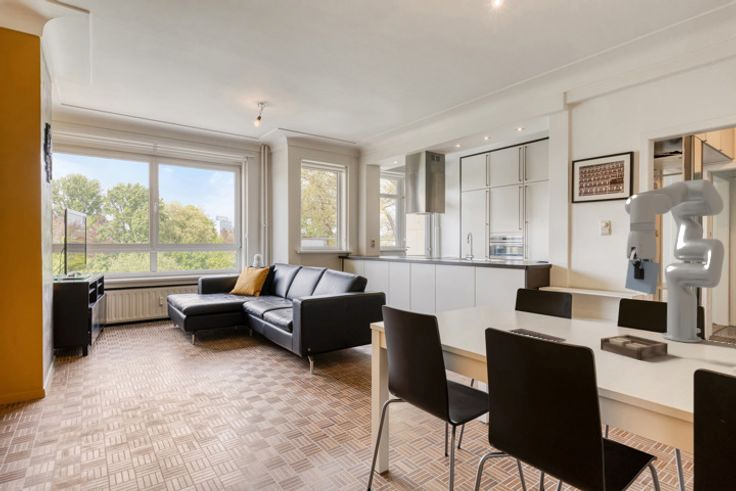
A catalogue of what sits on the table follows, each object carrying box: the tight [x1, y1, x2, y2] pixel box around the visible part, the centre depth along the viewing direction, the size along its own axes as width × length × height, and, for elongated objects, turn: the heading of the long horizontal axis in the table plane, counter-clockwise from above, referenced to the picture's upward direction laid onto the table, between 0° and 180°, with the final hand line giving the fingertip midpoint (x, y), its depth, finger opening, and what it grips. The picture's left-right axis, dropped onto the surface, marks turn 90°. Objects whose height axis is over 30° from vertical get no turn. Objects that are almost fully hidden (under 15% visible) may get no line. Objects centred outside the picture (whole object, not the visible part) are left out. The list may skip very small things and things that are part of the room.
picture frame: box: [508, 327, 566, 343], centre depth 163 cm, size 16×2×22 cm
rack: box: [600, 334, 668, 361], centre depth 141 cm, size 15×14×5 cm
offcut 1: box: [609, 338, 631, 347], centre depth 142 cm, size 5×5×4 cm
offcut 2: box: [626, 343, 646, 350], centre depth 137 cm, size 5×5×4 cm
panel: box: [624, 260, 661, 295], centre depth 142 cm, size 3×9×11 cm, turn 23°
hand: (642, 278), depth 142 cm, fingers closed on panel, 2 cm apart
